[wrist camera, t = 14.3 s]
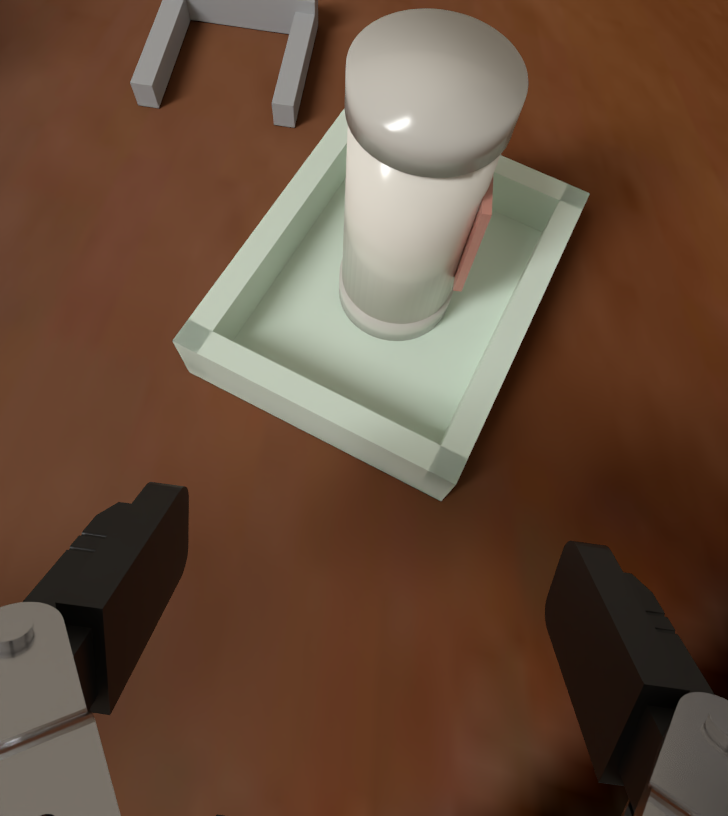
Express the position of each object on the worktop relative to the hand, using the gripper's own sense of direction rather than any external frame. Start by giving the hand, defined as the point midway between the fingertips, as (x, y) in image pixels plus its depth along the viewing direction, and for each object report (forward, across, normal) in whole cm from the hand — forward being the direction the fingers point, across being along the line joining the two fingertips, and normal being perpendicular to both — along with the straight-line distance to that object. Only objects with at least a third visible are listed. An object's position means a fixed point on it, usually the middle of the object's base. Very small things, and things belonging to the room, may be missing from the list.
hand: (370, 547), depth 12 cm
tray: (+14, 0, -2) cm, 14 cm away
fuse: (+14, 0, -3) cm, 14 cm away
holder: (+23, +9, -11) cm, 27 cm away
